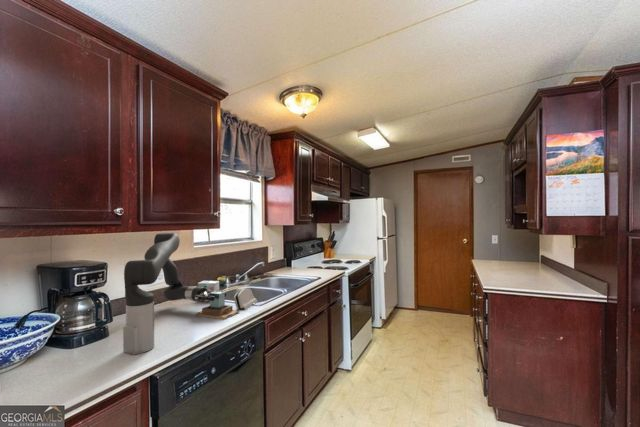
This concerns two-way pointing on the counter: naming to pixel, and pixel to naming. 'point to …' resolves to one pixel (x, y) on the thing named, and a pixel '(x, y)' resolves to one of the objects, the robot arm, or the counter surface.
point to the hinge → (244, 299)
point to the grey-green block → (217, 300)
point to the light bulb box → (209, 285)
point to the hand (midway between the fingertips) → (220, 296)
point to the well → (218, 312)
